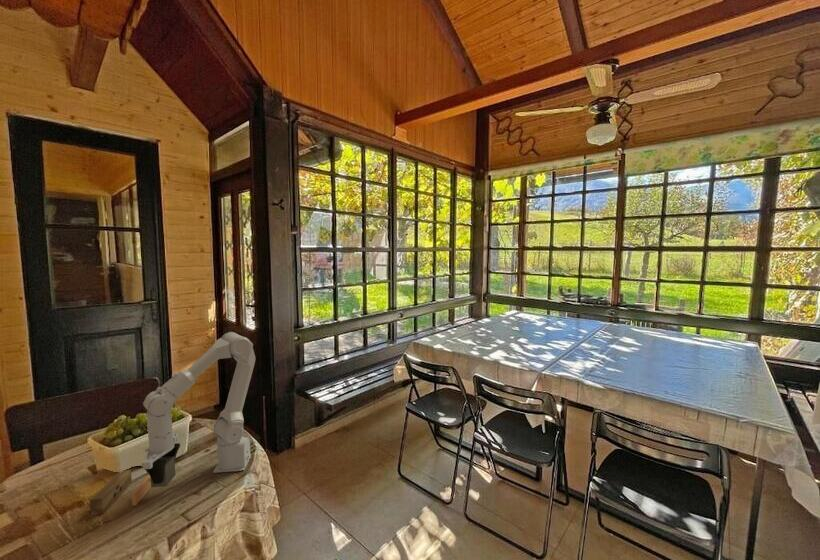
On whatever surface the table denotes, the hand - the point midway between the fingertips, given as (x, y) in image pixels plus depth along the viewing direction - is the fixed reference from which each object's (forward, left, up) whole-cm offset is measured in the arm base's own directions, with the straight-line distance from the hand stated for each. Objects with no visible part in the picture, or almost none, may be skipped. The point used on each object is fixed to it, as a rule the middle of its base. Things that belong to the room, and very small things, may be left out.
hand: (163, 476), depth 103 cm
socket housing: (+14, 0, -6) cm, 15 cm away
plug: (0, 0, -1) cm, 1 cm away
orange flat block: (+6, 0, -6) cm, 8 cm away
